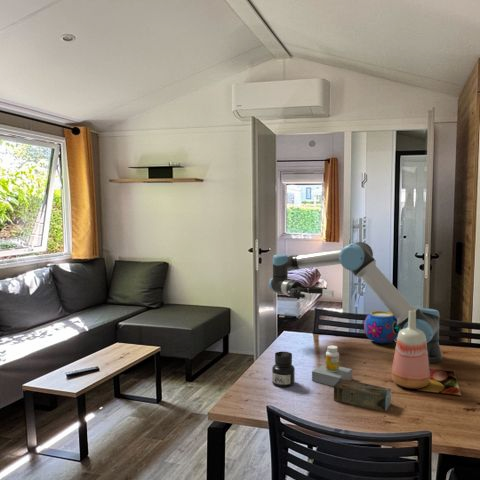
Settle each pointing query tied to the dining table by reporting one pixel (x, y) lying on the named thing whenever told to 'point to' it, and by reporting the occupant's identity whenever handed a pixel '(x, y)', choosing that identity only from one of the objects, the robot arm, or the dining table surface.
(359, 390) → the beverage carton
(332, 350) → the supplement bottle
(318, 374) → the base block
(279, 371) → the ink bottle
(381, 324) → the ceramic pot
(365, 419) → the dining table surface
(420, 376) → the vase
